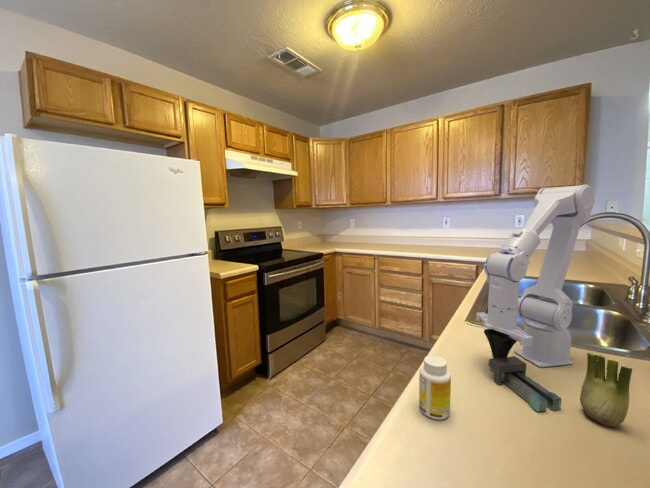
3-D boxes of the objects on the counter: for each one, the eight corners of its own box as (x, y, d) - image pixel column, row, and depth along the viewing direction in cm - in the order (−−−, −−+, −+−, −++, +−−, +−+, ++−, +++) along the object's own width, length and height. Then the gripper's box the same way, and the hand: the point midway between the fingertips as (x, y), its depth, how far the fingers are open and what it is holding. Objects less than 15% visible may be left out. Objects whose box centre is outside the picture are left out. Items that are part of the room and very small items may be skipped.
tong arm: (499, 374, 64) (499, 365, 64) (546, 410, 52) (546, 400, 52) (492, 374, 64) (492, 365, 64) (537, 411, 52) (538, 400, 52)
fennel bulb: (630, 432, 47) (638, 366, 46) (599, 431, 48) (606, 365, 46) (600, 408, 53) (606, 349, 52) (572, 407, 53) (578, 348, 52)
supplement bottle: (455, 411, 53) (457, 361, 52) (440, 426, 49) (442, 372, 48) (428, 397, 57) (429, 350, 56) (413, 409, 54) (413, 359, 53)
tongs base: (500, 366, 68) (501, 357, 67) (560, 409, 53) (561, 398, 53) (487, 368, 67) (488, 358, 67) (544, 412, 52) (545, 400, 52)
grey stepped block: (513, 373, 65) (514, 356, 64) (525, 381, 61) (526, 363, 61) (488, 376, 64) (489, 358, 63) (498, 384, 61) (499, 366, 60)
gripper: (466, 296, 70) (464, 347, 71) (512, 318, 56) (508, 381, 57) (491, 295, 71) (488, 345, 72) (543, 315, 57) (538, 378, 58)
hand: (499, 361), depth 65 cm, fingers closed
